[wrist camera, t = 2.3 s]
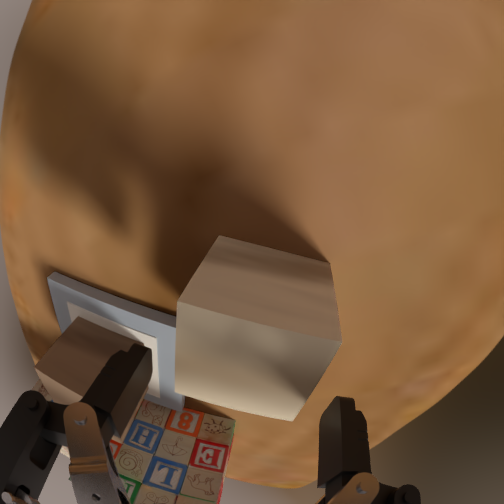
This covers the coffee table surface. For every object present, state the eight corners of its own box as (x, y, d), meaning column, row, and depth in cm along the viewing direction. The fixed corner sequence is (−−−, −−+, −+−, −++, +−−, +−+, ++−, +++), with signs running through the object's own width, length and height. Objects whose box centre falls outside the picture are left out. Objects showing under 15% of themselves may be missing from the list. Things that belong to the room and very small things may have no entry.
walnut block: (78, 315, 19) (34, 367, 13) (143, 343, 18) (105, 408, 13) (91, 363, 21) (59, 410, 16) (148, 388, 21) (121, 443, 16)
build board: (54, 271, 18) (46, 278, 17) (190, 321, 18) (185, 332, 17) (78, 359, 24) (72, 366, 23) (184, 404, 23) (181, 413, 22)
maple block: (219, 234, 15) (177, 300, 10) (329, 262, 15) (342, 341, 9) (206, 319, 18) (174, 392, 12) (297, 341, 18) (292, 421, 12)
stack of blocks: (72, 387, 28) (29, 456, 17) (56, 356, 25) (1, 430, 14) (234, 443, 26) (210, 538, 15) (238, 418, 23) (208, 536, 12)
